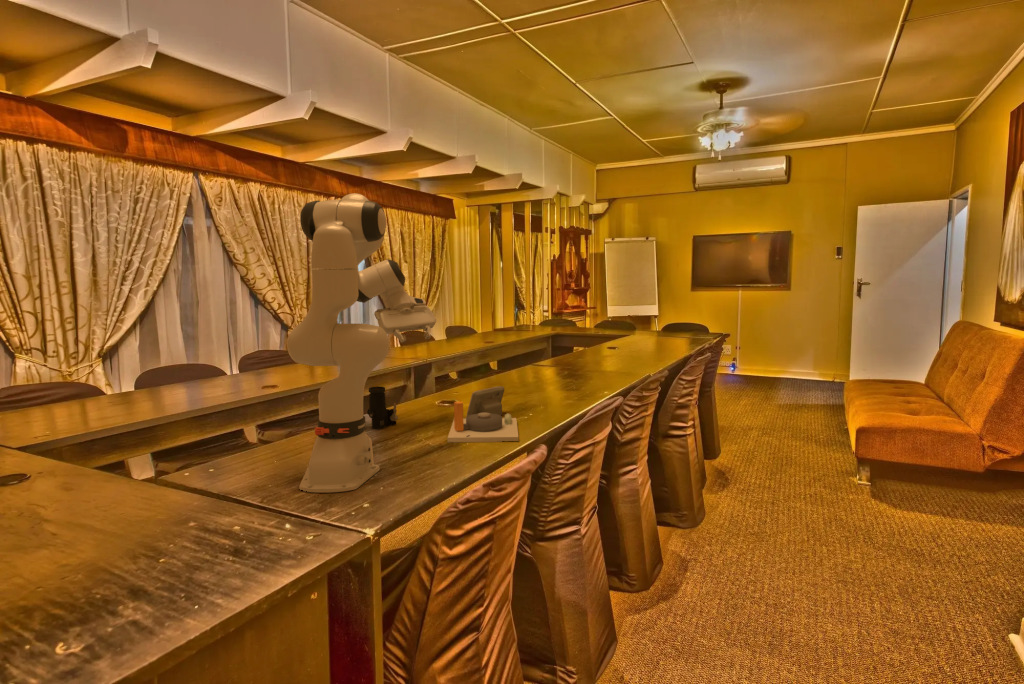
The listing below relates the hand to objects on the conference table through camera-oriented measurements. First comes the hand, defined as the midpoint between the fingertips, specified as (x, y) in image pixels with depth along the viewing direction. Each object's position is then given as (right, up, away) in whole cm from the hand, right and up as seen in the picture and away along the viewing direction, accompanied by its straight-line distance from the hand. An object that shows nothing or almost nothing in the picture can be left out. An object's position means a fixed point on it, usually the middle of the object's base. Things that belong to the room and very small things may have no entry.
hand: (416, 339), depth 182 cm
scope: (-14, -30, +6) cm, 34 cm away
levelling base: (+23, -31, 0) cm, 38 cm away
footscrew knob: (+21, -29, -1) cm, 36 cm away
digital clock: (+22, -29, +21) cm, 42 cm away
